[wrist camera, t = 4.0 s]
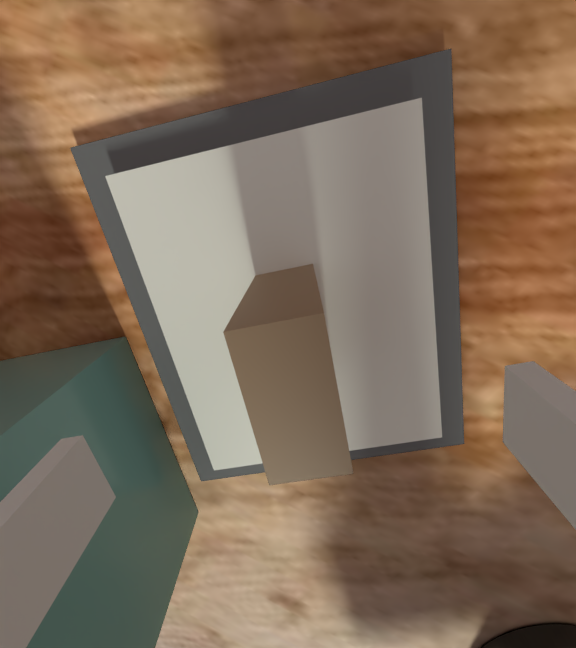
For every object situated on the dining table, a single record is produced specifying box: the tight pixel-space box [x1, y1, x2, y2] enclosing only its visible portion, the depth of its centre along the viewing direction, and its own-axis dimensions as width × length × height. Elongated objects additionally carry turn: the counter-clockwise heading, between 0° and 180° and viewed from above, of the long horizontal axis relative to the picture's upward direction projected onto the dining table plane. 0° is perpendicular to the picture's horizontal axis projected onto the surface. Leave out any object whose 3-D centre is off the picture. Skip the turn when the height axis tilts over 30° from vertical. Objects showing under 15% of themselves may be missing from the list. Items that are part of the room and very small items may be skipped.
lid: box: [105, 98, 442, 485], centre depth 17 cm, size 17×21×10 cm
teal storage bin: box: [0, 337, 198, 648], centre depth 21 cm, size 13×17×14 cm
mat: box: [70, 49, 464, 481], centre depth 22 cm, size 21×25×1 cm
